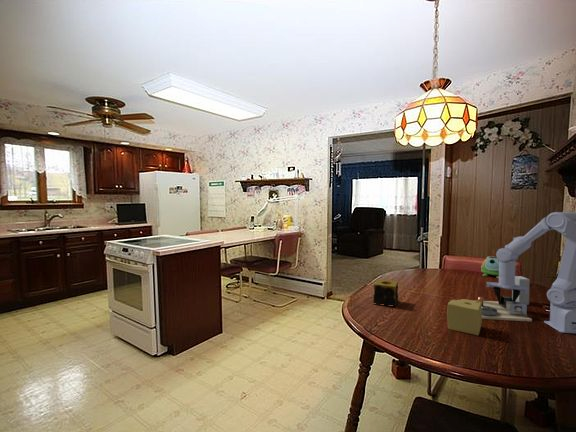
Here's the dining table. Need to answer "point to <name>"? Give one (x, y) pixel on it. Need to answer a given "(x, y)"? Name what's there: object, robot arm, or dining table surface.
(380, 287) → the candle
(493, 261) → the turtle holder
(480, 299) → the handwheel
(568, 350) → the dining table surface
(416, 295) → the dining table surface
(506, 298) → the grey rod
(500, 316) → the board
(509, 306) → the block
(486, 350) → the dining table surface
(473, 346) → the dining table surface
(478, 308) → the cheese
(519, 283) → the skincare box
